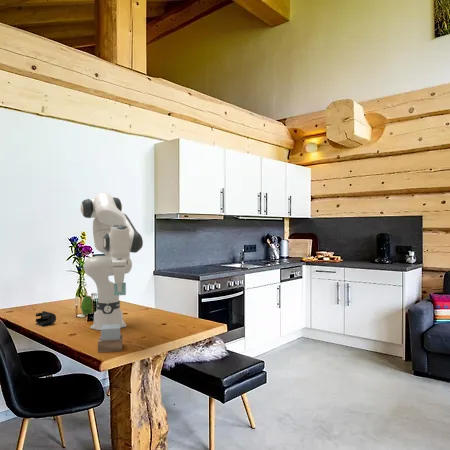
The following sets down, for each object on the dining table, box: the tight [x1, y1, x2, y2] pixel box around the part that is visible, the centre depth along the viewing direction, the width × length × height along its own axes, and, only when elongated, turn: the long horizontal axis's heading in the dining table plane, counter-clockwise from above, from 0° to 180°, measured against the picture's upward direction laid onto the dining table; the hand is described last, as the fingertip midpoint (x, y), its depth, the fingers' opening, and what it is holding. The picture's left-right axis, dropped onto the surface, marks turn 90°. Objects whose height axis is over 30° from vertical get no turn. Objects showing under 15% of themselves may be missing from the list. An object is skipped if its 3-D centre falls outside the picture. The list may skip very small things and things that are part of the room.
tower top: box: [100, 324, 121, 341], centre depth 177 cm, size 8×8×5 cm
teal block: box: [113, 282, 127, 296], centre depth 180 cm, size 5×5×5 cm
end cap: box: [35, 310, 57, 328], centre depth 221 cm, size 10×7×7 cm
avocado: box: [80, 295, 93, 316], centre depth 245 cm, size 8×8×12 cm
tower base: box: [97, 333, 124, 353], centre depth 177 cm, size 10×10×5 cm
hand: (119, 290), depth 180 cm, fingers closed on teal block, 5 cm apart
